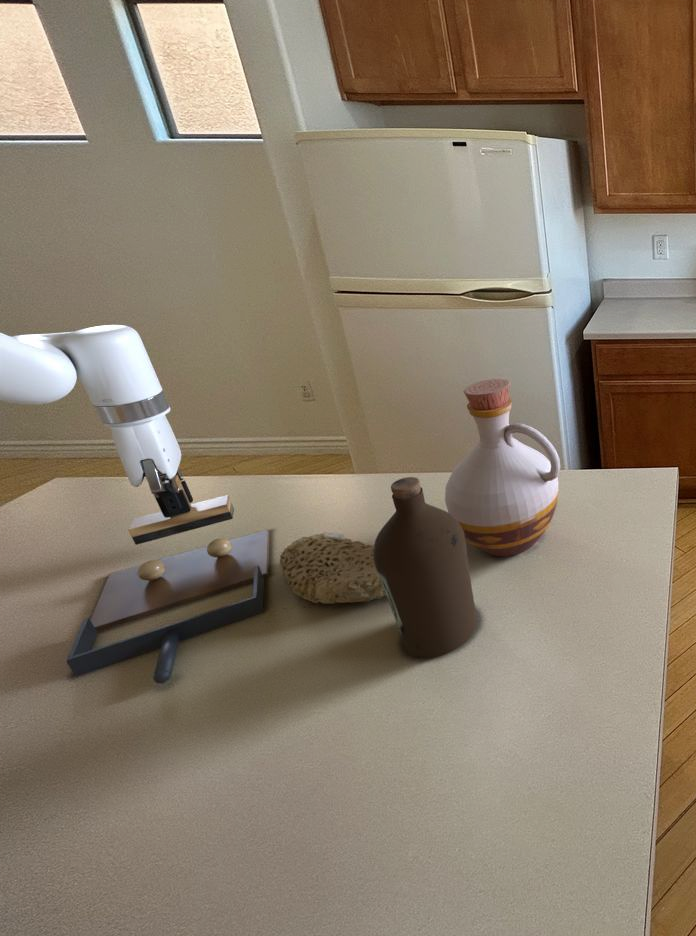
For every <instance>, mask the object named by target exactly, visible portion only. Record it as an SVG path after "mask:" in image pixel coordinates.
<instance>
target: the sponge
mask: <svg viewBox="0 0 696 936" xmlns="http://www.w3.org/2000/svg"><path fill="white" fill-rule="evenodd" d="M279 557H280V558H279V564H280V569H281V571H280V572H282V575H283V577H284V578H285V579H286V582H287V584H288V585H289V587H290V589H291V591H292V592H293V593H294V595H296V596H298V597H300V598H302V599H303V600H306V601H309V602H311V603H314V604H318V603H319V602H320V604H323V605H324V604H328V605H329V604H339V603H341V604H345V603H361V602H362V603H363V602H370V601H372V600H377V599H380V598H383V597H387V596H386V593H385V590H384V588H383V585H382V583H381V580H380V577H379V575H378V572H377V570H376V567H375V563H374V545H372V544H367V543H364V542H362V541H360V540H356V541H353V540H352V539H350V538H347V537H345V535H344V534H343V533H338V532H322V533H316V534H312V535H309V536H302V537H300V538H299V539H296V540H294V541H292V542H291V544H289V545H288V546H286V548H284V549H283V551H282V552H281V554H280V556H279Z"/></svg>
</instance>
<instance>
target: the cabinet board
mask: <svg viewBox="0 0 696 936" xmlns="http://www.w3.org/2000/svg"><path fill="white" fill-rule="evenodd" d="M270 534H271V532H270V529H269V528H267V529H264V530H260V531H258V532H257V531H256V532H252V533H250V534H245V535H243V536H238V537H234V538H231V539H227V540H228V541H230V543H231V546H232V547H231V550H230V552H229V553H228V554H226V555H225V556H223V557H212V556H210V555H209V554H208V552H207V547H208V545H206V546H202V547H199V548H196V549H192V550H189V551H185V552H181V553H178V554H174V555H171V556H168V557H164V558H160V559H156V561H160V562H162V563H163V564H164V565H165V572H164V573H163V575H162V576H161V577H159V578H157V579H155V580H151V581H146V580H142V579H141V578H140V577H139V576H138V569H139V567H140V566H141V565H142V564H139V565H135V566H132V567H127V568H124V569H121V570H118V571H114V572H110V573H108V576H107V579H106V581H105V584H104V586H103V588H102V591H101V593H100V596H99V597H98V600H97V602H96V606H95V607H94V610H93V613H92V615H91V617H90V620H91V622H92V624H93V626H94V627H95V629H96V631H97V632H99V631H101V630H105V629H109V628H112V627H114V626H117V625H121V624H123V623H127V622H130V621H133V620H136V619H140V618H143V617H145V616H149V615H152V614H155V613H158V612H161V611H165V610H168V609H171V608H174V607H177V606H180V605H184V604H187V603H190V602H193V601H197V600H200V599H202V598H206V597H208V596H212V595H215V594H217V593H221V592H224V591H227V590H231V589H234V588H237V587H241V586H243V585H246V584H249V583H253V582H254V568H255V566H257V565H259V568H260V570H261V573H262V575H263V578H264V579H265V578H268V577H269V565H270V564H269V559H270Z"/></svg>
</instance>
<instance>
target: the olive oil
mask: <svg viewBox="0 0 696 936" xmlns="http://www.w3.org/2000/svg"><path fill="white" fill-rule="evenodd" d="M390 490H391V493H392V495H391V498H392V502H393V505H394V508H395V512H394V513H393V514H392V516H391V517H390V518H389V519H388V520H387V522H386V523H385V524H384V525H383V526H382V528H381V529H380V531H379V532H378V534H377V536H376V538H375V542H374V545H373V546H374V563H375V567H376V570H377V572H378V575H379V577H380V580H381V583H382V585H383V588H384V590H385V593H386V596H385V597H386V598H387V601H388V604H389V607H390V609H391V612H392V614H393V618H394V620H395V623H396V627H397V628H398V629H397V630H398V631H399V634H400V637H401V641H402V644H403V647H404V649H405V650H406V652H407V653H408V654H409V655H411V656H413V657H416V658H419V659H432V658H438V657H442V656H445V655H447V654H450V653H452V652H454V651H455V650H457V649H459V648H461V647H462V646H463V645H464V644H465V643H467V642H468V641H469V639H470V638H471V637H472V636H473V635H474V634H475V633H474V632H475V631H476V629H477V626H478V617H477V616H478V615H477V610H476V605H475V599H474V593H473V585H472V580H471V579H472V578H471V572H470V566H469V565H470V564H469V557H468V551H467V550H468V549H467V540H466V539H465V535H464V532H463V529H462V527H461V526H460V524H459V523H458V521H457V520H456V519H455V517H454V516H452V515H451V514H450V513H448V511H446V510H444V509H442V508H439V507H436V506H433V505H431V504H429V503H427V502H426V499H425V495H424V491H423V490H424V489H423V488H422V486H421V482H420V479H419V478H418V477H414V476H407V477H402V478H400V479H397V480H396V481H393V482H392V483H391V485H390Z"/></svg>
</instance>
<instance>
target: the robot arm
mask: <svg viewBox="0 0 696 936" xmlns="http://www.w3.org/2000/svg"><path fill="white" fill-rule="evenodd" d="M77 380H78V381H80V382H81V384H82V386H83V388H84V390H85V392H86V395H87V396H88V398H89V400H90V402H91V405H92V407H93V409H94V411H95V414H96V415H97V418H98V419H99V422H100V423H101V425H102V426H103V427H107V428H110V433H111V436H112V440H113V443H114V446H115V448H116V452H117V455H118V457H119V460H120V461H121V464H122V467H123V469H124V472H125V474H126V476H127V479H128V481H129V484H130V485H131V486H132V487H134V488H138V487H140V486H141V485H142V484H143V482H144V479H146V481H147V485H148V488H149V490H150V493H151V494H152V495H153V497H154V499H155V501H156V503H157V505H158V507H159V510H160V512H162V514H163V516H164V517H166V518H167V517H172V516H176V515H179V514H183V513H187V512H190V510H191V508H190V505H189V503H188V501H187V499H186V496H185V494H184V492H183V490H179V487H178V485H177V482H176V480H175V478H174V476H175V475H178V477H179V479H180V482H181V484H182V486H183V488H184V491H185V493H186V495H187V497H188V500H189V502H190V504H193V501H194V498H193V495H192V494H191V493H192V492H191V490H190V489H189V487H188V484H187V482H186V480H184V476H183V473H182V471H181V469H180V463H181V460H182V451H181V448H180V444H179V442H178V440H177V437H176V435H175V433H174V431H173V428H172V426H171V424H170V422H169V420H168V418H167V416H166V415H167V414H169V413H170V412H171V406H170V404H169V402H168V399H167V396H166V395H165V392H164V389H163V387H162V385H161V383H160V380H159V378H158V376H157V373H156V371H155V369H154V366H153V364H152V362H151V359H150V357H149V354H148V352H147V349H146V347H145V345H144V343H143V340H142V338H141V335H140V334H139V333H138V331H137V330H136V329H135V328H133V327H131V326H128V325H123V324H107V325H98V326H92V327H87V328H82V329H78V330H75V331H68V332H55V333H36V334H35V333H34V334H19V335H13V336H12V335H11V336H10V335H8V334H5V333H2V332H0V401H2V402H6V403H10V404H15V405H22V406H38V405H39V406H40V405H46V404H50V403H55V402H57V401H59V400H62V399H63V398H64V397H66V396H67V395H68V394H69V393H71V392H72V390H73V389H74V388H75V386H76V384H77ZM164 481H169V483H170V484H168V483H162V482H164Z"/></svg>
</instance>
